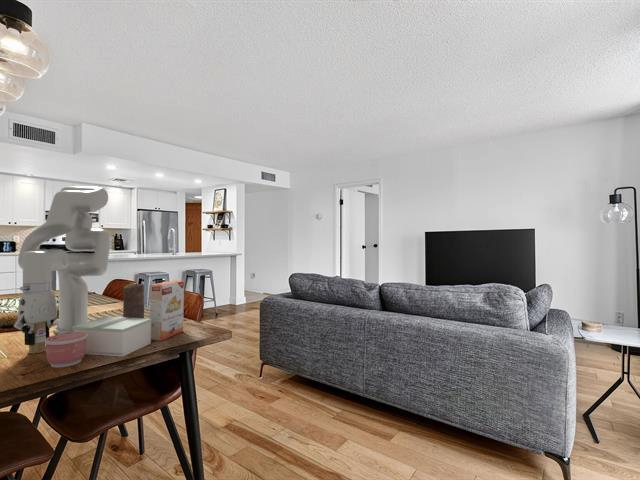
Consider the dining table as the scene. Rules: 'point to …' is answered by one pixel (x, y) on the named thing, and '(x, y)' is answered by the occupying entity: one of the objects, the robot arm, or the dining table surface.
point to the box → (117, 341)
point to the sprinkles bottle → (39, 338)
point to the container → (65, 349)
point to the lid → (112, 324)
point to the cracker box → (166, 309)
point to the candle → (133, 301)
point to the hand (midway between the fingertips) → (37, 342)
